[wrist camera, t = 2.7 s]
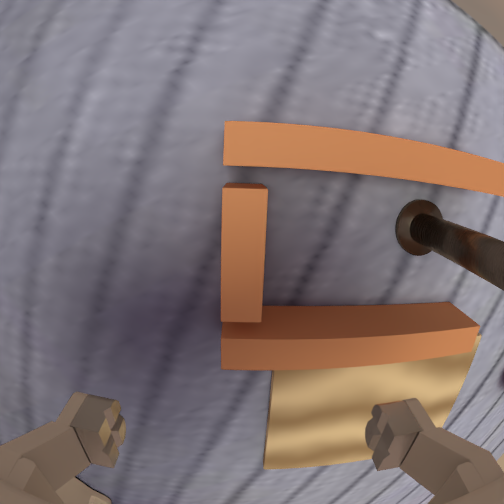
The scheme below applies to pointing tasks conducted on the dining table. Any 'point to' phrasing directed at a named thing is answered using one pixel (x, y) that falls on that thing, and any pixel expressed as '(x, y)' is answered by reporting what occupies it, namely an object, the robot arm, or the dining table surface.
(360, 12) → the dining table surface
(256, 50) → the dining table surface
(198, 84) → the dining table surface
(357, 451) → the tray
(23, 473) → the robot arm
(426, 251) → the post stand
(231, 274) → the c link
